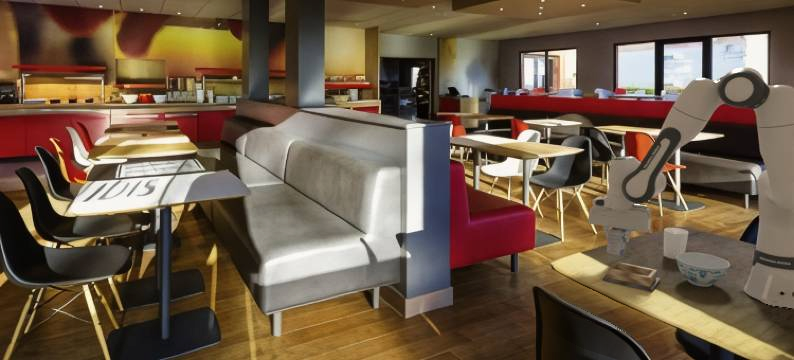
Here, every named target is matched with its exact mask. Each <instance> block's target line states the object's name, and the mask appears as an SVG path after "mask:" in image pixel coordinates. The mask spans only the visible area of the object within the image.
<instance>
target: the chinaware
mask: <svg viewBox="0 0 794 360" xmlns="http://www.w3.org/2000/svg"><path fill="white" fill-rule="evenodd" d="M675 261H676V264H677V268H678V270H679V271H680V273H681V274H682V275H683V276H684V277H685V278H686V279H687V281H688V282H689V284H691V285H694V286H698V287H702V288H703V287H705V288H706V287H711V286H712V285H713V284H714V283H717V282H719V281H720V280H722V279H723V278H724V277H725V276H726V275H727V273H728V271H729V269H730V266H731V264H730V262H729V261H728V260H726V259H724V258H722V257H719V256H717V255H712V254H709V253H703V252H702V253H701V252H685V253H680V254H678V255H677V256H676V259H675Z"/></svg>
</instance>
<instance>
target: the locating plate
mask: <svg viewBox="0 0 794 360" xmlns="http://www.w3.org/2000/svg"><path fill="white" fill-rule="evenodd" d="M657 272H658V269H656V268H655V269H653V268H649V267H645V266H639V265H635V264H629V263H626V262H620V261H614V262H613V263H612V264H611V265H610V266H609V267H608V268H607V273H606V274H605V275H604V276H603V277H602V282H607V283H612V284H616V285H621V286H625V287H628V288H634V289H636V290H637V289H638V290H641V291H646V292H651V293H653V291H654V290H655V288H656V287H657V286H658V285H659V283H660V282H661V277H657V275H658V274H657Z"/></svg>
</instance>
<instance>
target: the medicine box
mask: <svg viewBox="0 0 794 360" xmlns="http://www.w3.org/2000/svg"><path fill="white" fill-rule="evenodd" d="M627 235H628V233H627V230H624V229H618V228H612V227H611V228H609V229H608V239H607V245H606V253H607V254H609V255H612V256H619V257H620V256H621V255H622V254H623V253H624V252H625V251H626V249H627V242H623V240H624V239H623V237H624V236H627Z"/></svg>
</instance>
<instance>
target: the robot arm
mask: <svg viewBox="0 0 794 360" xmlns="http://www.w3.org/2000/svg"><path fill="white" fill-rule="evenodd" d="M725 104H726V105H728V106H730V107H733V108H741V109H742V108H743V109H750V110H753V111H754V113H755V117H756V127H757V128H756V129H757V135H758V136H757V137H758V144H759V146H758V147H759V153H760V156H761V158H762V159H763V160H762V161H763V163H764V166H765V170H763V171H762V172H761V173H760V174H759V176H758V178H757V181H756V182H757V189H758V218H759V220H758V221H759V222H758V230H757V231H758V232H757V239H756V246H754V248H753V252H752V258H751V264H752V265H751V266H752V267H751V270H750V274H749V277H748V280H747V281H746V284H745V286H744V288H743V292H744V293H745V294H747V295H748V296H749V297H752V298H754V299H756V300H758V301H760V302H762V303H763V304H764V303H765V304H764V305H766V304H768V305H767V306H770V305H772V306H771V307H775V306H779V307H778V308H782V307H787V308H786V309H788V308H793V309H792V310H794V87H793V86H791V85H787V84H776V85H769V84H767V83H766V82H765V80H764V77H763V75H762V74H761V73H760V72H759V71H757V69H754V68H752V67H744V66H743V67H737V68H733V69H732V70H729V72H727V73H726V74H725V75H723V76H722V77H720V78H718V79H716V80H712V79H710V78H705V77H699V78H695V79H692V80H691V81H690V82H689V83H688V84H687V85H686V87H685V88H684V89H683V90H682V91H681V92H680V94H679V95H678V97H677V98H676V100H675V102H674V103H673V105H672V107H671V108H670V110H669V112H668V114H667V116H666V118H665V120H664V122H663V124H662V127H661V128H660V131H659V133H658V135H657V137H656V138H655V140H654V142H653V144H652V145H651V146H650V148H649V149H648V151H647V153H646V155H645V156H644V157H643V159H642V160H641V161H639V160H638V159H637V158H636V157H635V156H631V155H629V156H628V155H627V156H620V157H619V156H618V157H616V158H614V159H612V160H611V162H610V166H609V170H608V177H607V178H608V179H607V182H608V189H607V192H606V195H602V196H601V195H600V196H598V197H595V198H594V199H592V203H591V204H592V205H591V207H590V209H589V212H588V217H587V218H588V220H587V221H588V223H589V224H590V225H594V226H601V227H602V229H603V231H604V233H605V239H607V240H608V231H609V229H610V228H611V229H612V228H618V229H624V230H627V236H624V237H623V239H624V240H623V242H626V243H629V241H630V236H631V235H632V234H633V232H638V233H644V234H646V233H648V232H649V231H650V230H651V218H652V213H653V211H652V209H651V207H649V206H648V205H644V204H646V203H647V202H649V201H650V200H651V199H653V198H654V197H656V196H658V195H660V194H661V193H662V192H663V191H665V190H666V188H667V182H668V181H667V177H666V175H665V173H664V172H663V171H662V170H663V169H664V168H665V166H666V164H667V163H668V161H669V160H670V158H671V157H672V156H673V155H674V154H675V153H676V152H677V151H678V150H679V149H680V148H682V147H683V146H685V145H687V144H688V143H690V142H691V141H693V140H694V139H695V138H696V137H697V136H699V134H700V133H701V131H703V130H704V128H705V127H706V125H707V124H708V122H709V121H710V119H711V117H712V115H714V112H715V111H716V110H717V109H718V108H719V106H721V105H725Z"/></svg>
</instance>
